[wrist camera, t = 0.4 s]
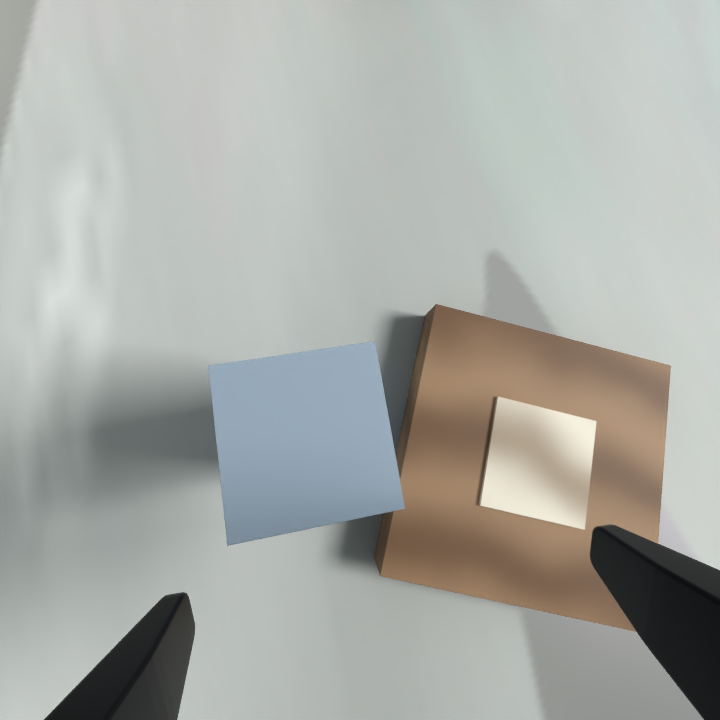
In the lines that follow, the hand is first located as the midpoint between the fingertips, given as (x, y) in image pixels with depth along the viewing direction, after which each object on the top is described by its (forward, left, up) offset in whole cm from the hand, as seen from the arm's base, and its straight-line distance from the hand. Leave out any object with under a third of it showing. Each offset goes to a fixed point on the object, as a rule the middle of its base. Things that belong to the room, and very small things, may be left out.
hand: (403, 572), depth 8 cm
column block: (+1, +3, -15) cm, 15 cm away
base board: (+7, -9, -15) cm, 19 cm away
